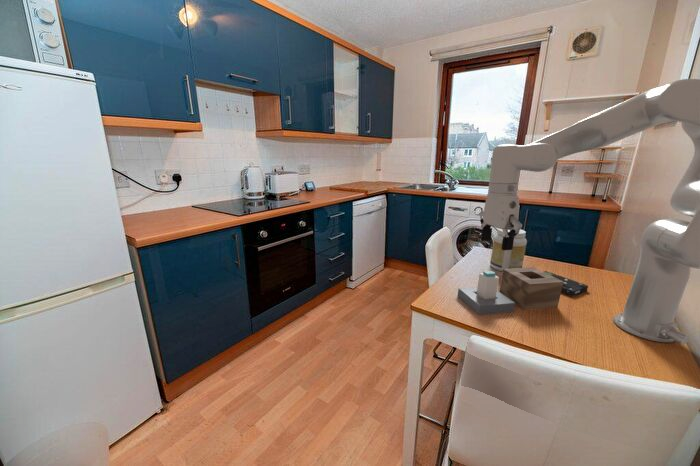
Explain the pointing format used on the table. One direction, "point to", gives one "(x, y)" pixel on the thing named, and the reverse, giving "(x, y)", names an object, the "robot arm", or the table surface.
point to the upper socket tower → (531, 288)
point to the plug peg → (487, 285)
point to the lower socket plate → (485, 302)
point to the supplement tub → (508, 251)
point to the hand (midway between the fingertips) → (495, 244)
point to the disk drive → (570, 286)
